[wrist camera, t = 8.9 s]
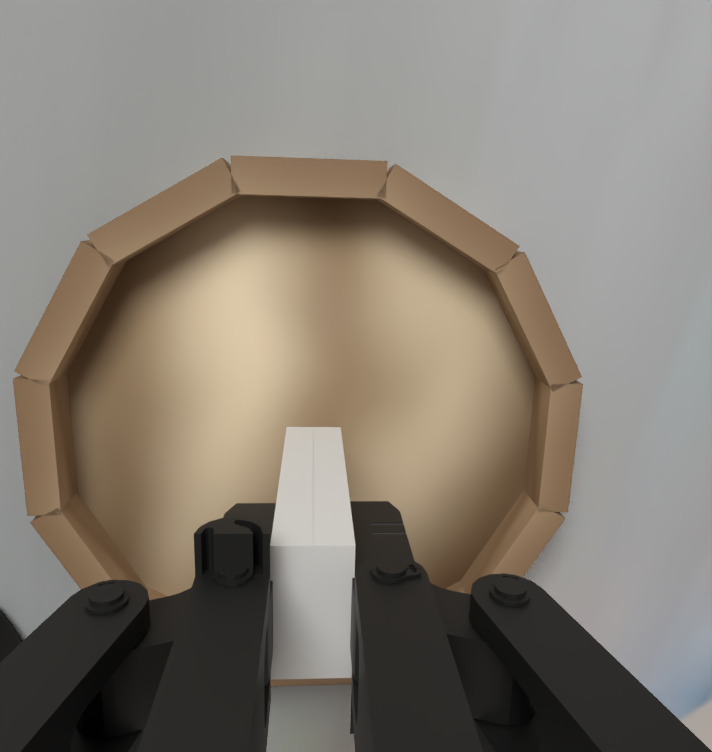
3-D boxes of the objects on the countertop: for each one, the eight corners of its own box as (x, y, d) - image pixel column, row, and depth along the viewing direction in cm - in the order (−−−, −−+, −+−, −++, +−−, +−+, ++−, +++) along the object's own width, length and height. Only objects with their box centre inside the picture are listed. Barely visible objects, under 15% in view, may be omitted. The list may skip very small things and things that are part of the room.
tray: (70, 648, 23) (46, 692, 21) (24, 155, 19) (-12, 146, 17) (526, 637, 24) (548, 678, 22) (576, 174, 20) (608, 169, 18)
